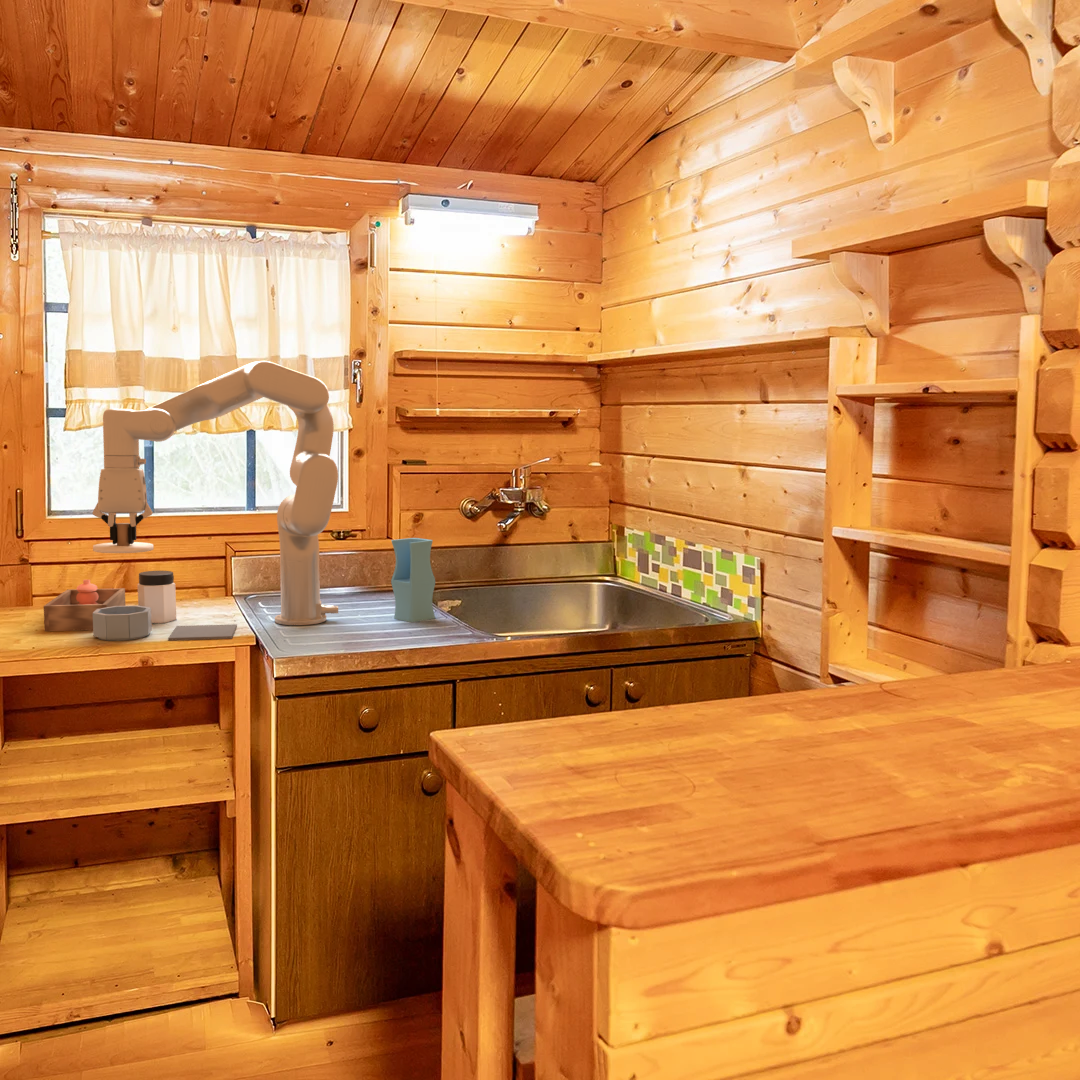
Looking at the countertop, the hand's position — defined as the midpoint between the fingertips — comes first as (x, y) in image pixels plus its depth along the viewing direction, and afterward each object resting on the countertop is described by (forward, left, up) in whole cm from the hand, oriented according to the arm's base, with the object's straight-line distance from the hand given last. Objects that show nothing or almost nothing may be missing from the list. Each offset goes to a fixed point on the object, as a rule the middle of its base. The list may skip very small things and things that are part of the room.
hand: (123, 542), depth 252 cm
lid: (0, 0, -2) cm, 2 cm away
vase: (-67, -12, -22) cm, 72 cm away
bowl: (+1, 0, -22) cm, 22 cm away
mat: (-17, 0, -22) cm, 28 cm away
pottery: (+13, -18, -22) cm, 32 cm away
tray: (+13, -20, -22) cm, 32 cm away
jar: (-4, -18, -22) cm, 29 cm away
